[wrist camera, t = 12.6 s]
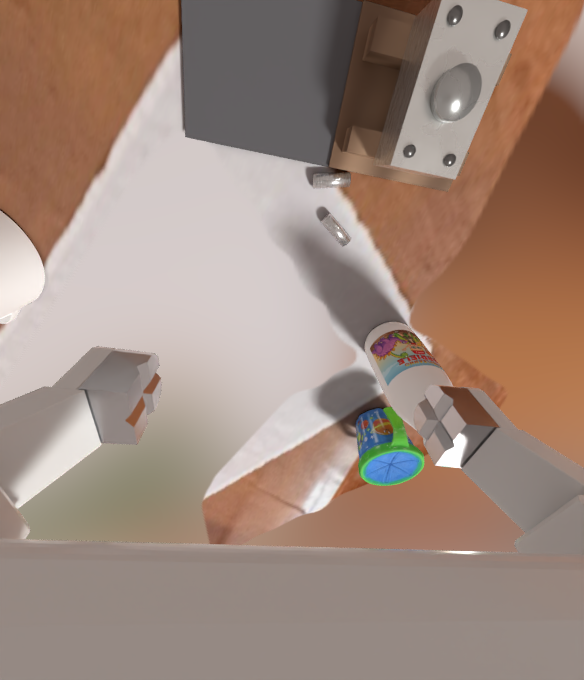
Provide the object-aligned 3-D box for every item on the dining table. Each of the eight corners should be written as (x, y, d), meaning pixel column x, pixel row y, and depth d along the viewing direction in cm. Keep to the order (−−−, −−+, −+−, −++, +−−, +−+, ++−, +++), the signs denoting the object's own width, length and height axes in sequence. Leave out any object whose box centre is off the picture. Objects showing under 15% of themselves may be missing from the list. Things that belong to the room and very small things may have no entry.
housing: (414, 18, 22) (454, -25, 17) (481, 38, 23) (539, 2, 18) (373, 164, 27) (394, 165, 22) (428, 176, 28) (461, 180, 23)
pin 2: (323, 222, 32) (331, 212, 32) (319, 222, 33) (327, 213, 33) (344, 246, 33) (352, 237, 33) (340, 245, 35) (348, 237, 34)
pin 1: (313, 191, 31) (314, 179, 29) (312, 182, 31) (313, 170, 30) (348, 189, 31) (351, 177, 29) (347, 181, 31) (349, 169, 30)
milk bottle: (409, 357, 45) (487, 473, 28) (363, 363, 45) (412, 481, 29) (415, 316, 41) (510, 424, 24) (363, 323, 41) (421, 434, 24)
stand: (327, 166, 30) (332, 167, 27) (361, 4, 24) (372, -18, 21) (444, 191, 32) (460, 193, 29) (504, 46, 25) (533, 31, 22)
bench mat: (186, 137, 28) (185, 136, 28) (181, -48, 22) (179, -52, 21) (336, 168, 30) (337, 168, 30) (372, 7, 24) (373, 5, 23)
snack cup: (385, 446, 58) (404, 495, 49) (337, 443, 57) (348, 493, 48) (415, 393, 50) (443, 441, 41) (360, 388, 48) (377, 436, 40)
